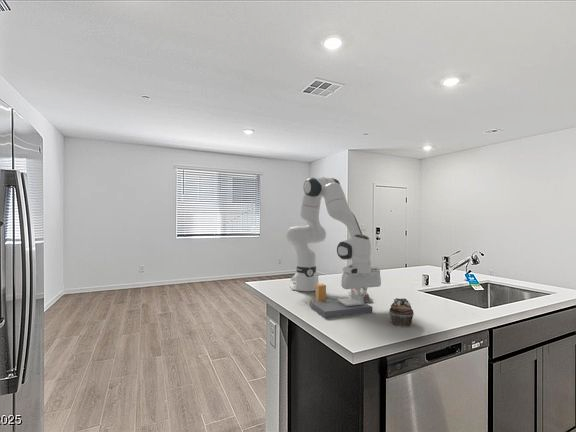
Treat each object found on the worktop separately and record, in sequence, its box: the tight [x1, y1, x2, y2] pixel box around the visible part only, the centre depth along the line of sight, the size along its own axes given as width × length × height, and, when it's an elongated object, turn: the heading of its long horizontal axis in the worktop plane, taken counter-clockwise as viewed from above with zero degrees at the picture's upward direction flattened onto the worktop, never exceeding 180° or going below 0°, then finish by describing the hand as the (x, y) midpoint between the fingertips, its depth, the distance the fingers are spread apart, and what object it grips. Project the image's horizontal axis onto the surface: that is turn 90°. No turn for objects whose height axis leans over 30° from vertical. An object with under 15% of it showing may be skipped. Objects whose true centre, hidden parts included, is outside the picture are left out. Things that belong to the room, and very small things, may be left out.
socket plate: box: [310, 299, 373, 319], centre depth 142 cm, size 16×24×3 cm, turn 108°
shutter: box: [336, 292, 365, 306], centre depth 144 cm, size 9×9×4 cm
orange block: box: [315, 283, 327, 301], centre depth 152 cm, size 4×4×10 cm
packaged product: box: [348, 288, 373, 303], centre depth 165 cm, size 18×5×10 cm
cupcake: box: [388, 297, 415, 328], centre depth 125 cm, size 10×10×10 cm
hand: (361, 296), depth 146 cm, fingers closed
